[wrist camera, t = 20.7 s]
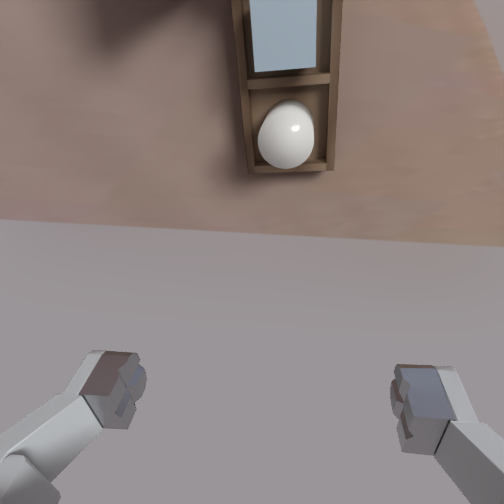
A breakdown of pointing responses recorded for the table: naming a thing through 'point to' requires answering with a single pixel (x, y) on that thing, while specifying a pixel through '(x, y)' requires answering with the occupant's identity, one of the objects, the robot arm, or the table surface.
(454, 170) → the table surface
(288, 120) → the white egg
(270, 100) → the organiser base
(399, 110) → the table surface
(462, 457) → the robot arm
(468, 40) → the table surface
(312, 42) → the blue cube
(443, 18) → the table surface
